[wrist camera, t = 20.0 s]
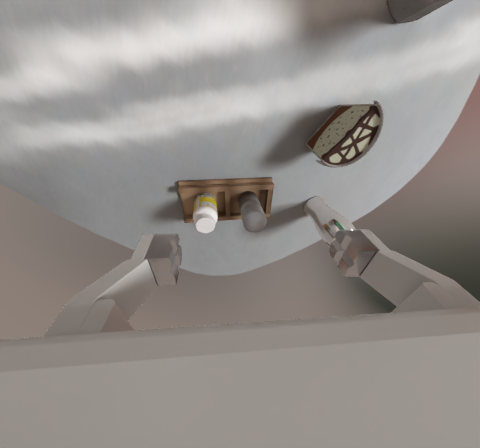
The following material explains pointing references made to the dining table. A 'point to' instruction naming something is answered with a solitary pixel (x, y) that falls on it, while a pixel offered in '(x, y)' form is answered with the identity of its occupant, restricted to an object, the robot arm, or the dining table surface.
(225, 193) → the wooden compartment tray
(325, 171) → the dining table surface
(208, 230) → the supplement bottle
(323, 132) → the food container
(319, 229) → the beer glass
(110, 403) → the robot arm
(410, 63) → the dining table surface
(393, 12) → the coffeepot
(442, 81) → the dining table surface
